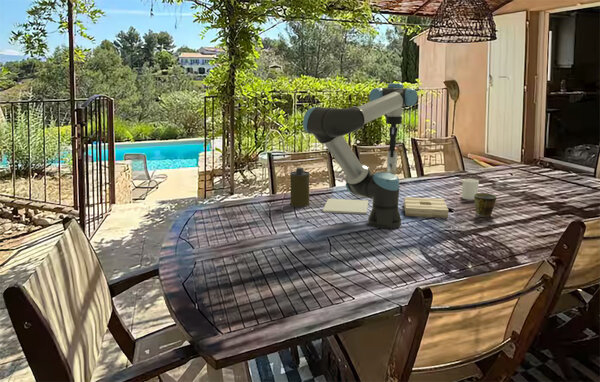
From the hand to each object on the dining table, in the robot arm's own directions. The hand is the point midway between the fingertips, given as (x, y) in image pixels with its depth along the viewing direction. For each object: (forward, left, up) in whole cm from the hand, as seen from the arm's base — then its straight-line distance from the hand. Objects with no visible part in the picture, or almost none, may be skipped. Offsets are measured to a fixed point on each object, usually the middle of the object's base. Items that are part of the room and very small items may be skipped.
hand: (391, 162), depth 223 cm
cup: (+31, -44, -25) cm, 59 cm away
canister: (+1, +47, -25) cm, 54 cm away
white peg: (0, 0, -6) cm, 6 cm away
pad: (0, +22, -25) cm, 33 cm away
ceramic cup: (-4, -45, -25) cm, 51 cm away
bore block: (0, -18, -25) cm, 30 cm away
